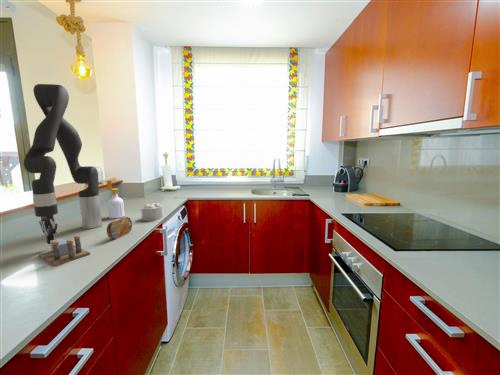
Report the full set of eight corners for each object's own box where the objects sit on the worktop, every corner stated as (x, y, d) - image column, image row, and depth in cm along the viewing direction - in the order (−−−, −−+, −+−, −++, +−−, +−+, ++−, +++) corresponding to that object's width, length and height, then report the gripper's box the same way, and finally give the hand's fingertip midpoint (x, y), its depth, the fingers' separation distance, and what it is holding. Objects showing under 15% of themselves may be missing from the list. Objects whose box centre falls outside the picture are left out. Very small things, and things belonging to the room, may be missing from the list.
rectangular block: (60, 256, 98) (59, 245, 98) (51, 251, 103) (50, 240, 103) (72, 252, 102) (70, 242, 101) (62, 248, 107) (61, 237, 106)
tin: (112, 241, 116) (110, 223, 115) (106, 240, 117) (104, 223, 116) (133, 230, 131) (131, 215, 130) (127, 230, 131) (126, 215, 130)
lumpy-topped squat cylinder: (139, 220, 151) (138, 206, 149) (152, 214, 163) (151, 201, 162) (155, 220, 149) (154, 206, 147) (166, 215, 161) (165, 202, 160)
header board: (38, 256, 101) (36, 238, 99) (72, 246, 110) (70, 229, 109) (54, 265, 92) (51, 246, 91) (90, 254, 102) (87, 236, 100)
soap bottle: (127, 216, 160) (124, 177, 156) (113, 219, 152) (109, 179, 148) (119, 214, 165) (116, 177, 161) (105, 217, 157) (101, 178, 153)
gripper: (28, 203, 106) (34, 243, 108) (40, 207, 98) (46, 249, 101) (50, 200, 112) (55, 238, 114) (62, 203, 105) (67, 243, 107)
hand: (50, 243), depth 108 cm, fingers closed
